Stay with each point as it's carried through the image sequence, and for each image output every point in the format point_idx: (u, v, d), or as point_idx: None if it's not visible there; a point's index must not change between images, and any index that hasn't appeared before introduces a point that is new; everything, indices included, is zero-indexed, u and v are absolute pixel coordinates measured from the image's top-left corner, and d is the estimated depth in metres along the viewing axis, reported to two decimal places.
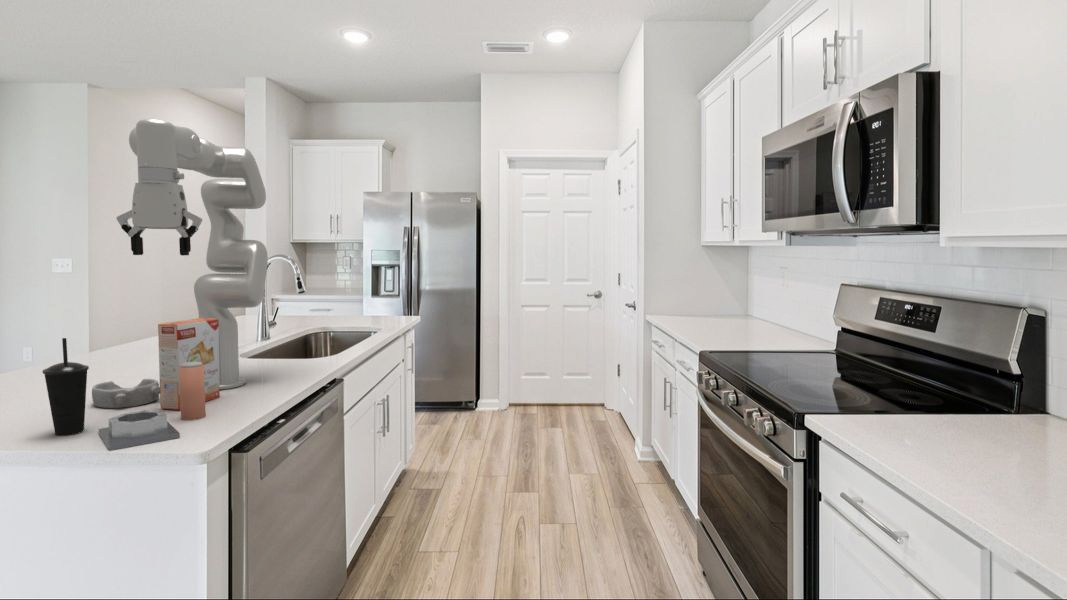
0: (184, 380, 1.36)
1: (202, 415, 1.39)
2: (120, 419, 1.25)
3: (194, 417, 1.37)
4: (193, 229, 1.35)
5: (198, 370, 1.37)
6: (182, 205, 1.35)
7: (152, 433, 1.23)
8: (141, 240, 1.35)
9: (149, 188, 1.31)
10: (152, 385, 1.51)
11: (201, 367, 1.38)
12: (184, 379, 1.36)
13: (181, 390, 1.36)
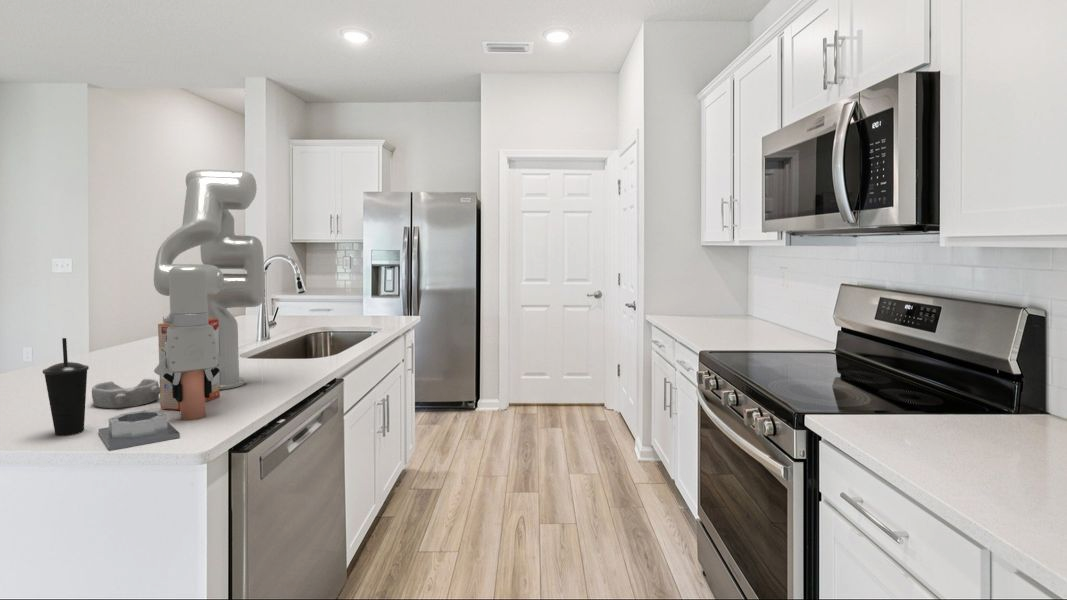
0: (184, 380, 1.36)
1: (202, 415, 1.39)
2: (120, 419, 1.25)
3: (194, 417, 1.37)
4: None
5: (198, 370, 1.37)
6: (165, 348, 1.35)
7: (152, 433, 1.23)
8: None
9: None
10: (152, 385, 1.51)
11: None
12: (184, 379, 1.36)
13: None
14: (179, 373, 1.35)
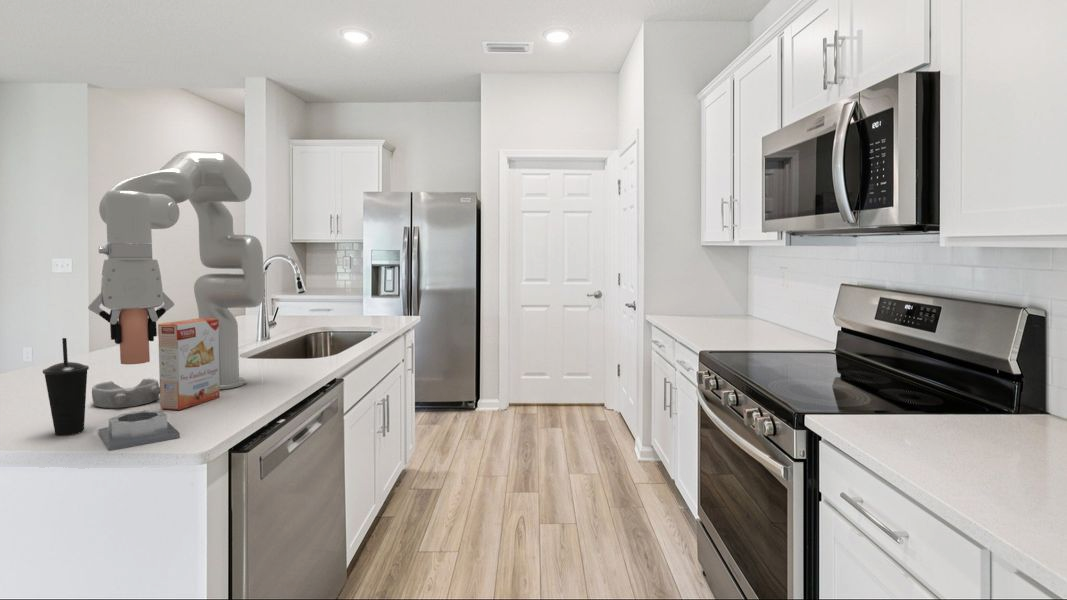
0: (123, 319, 1.21)
1: (145, 360, 1.23)
2: (120, 419, 1.25)
3: (135, 361, 1.22)
4: None
5: None
6: (101, 283, 1.19)
7: (152, 433, 1.23)
8: (148, 325, 1.24)
9: None
10: (152, 385, 1.51)
11: None
12: (123, 318, 1.21)
13: None
14: (117, 311, 1.20)
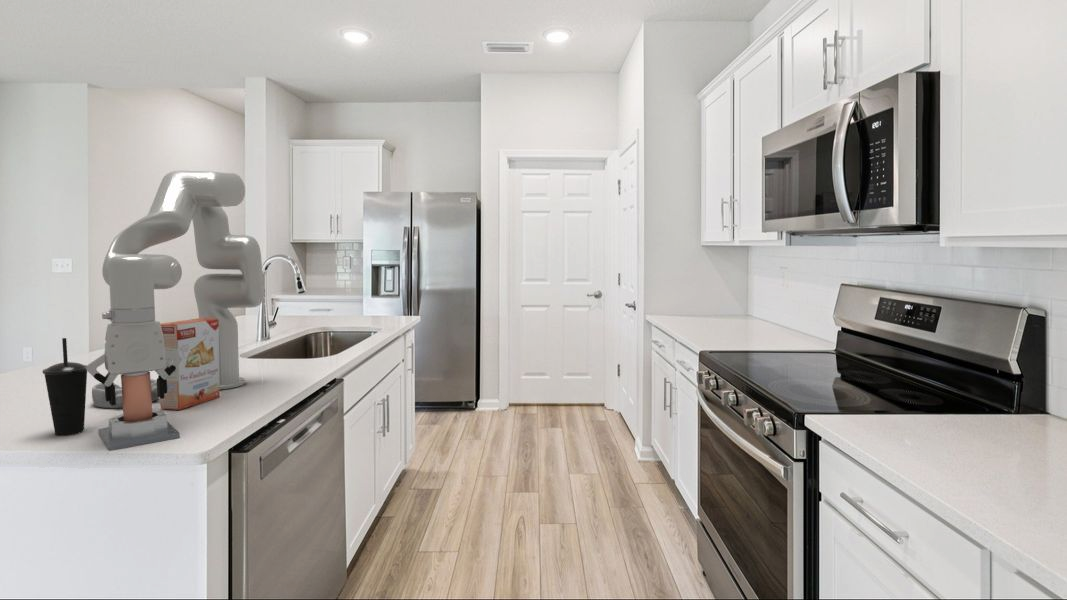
0: (127, 391, 1.22)
1: None
2: (120, 419, 1.25)
3: None
4: None
5: (142, 379, 1.23)
6: None
7: (152, 433, 1.23)
8: (159, 383, 1.26)
9: None
10: (152, 385, 1.51)
11: (146, 376, 1.23)
12: (126, 390, 1.22)
13: (124, 401, 1.22)
14: (115, 374, 1.21)
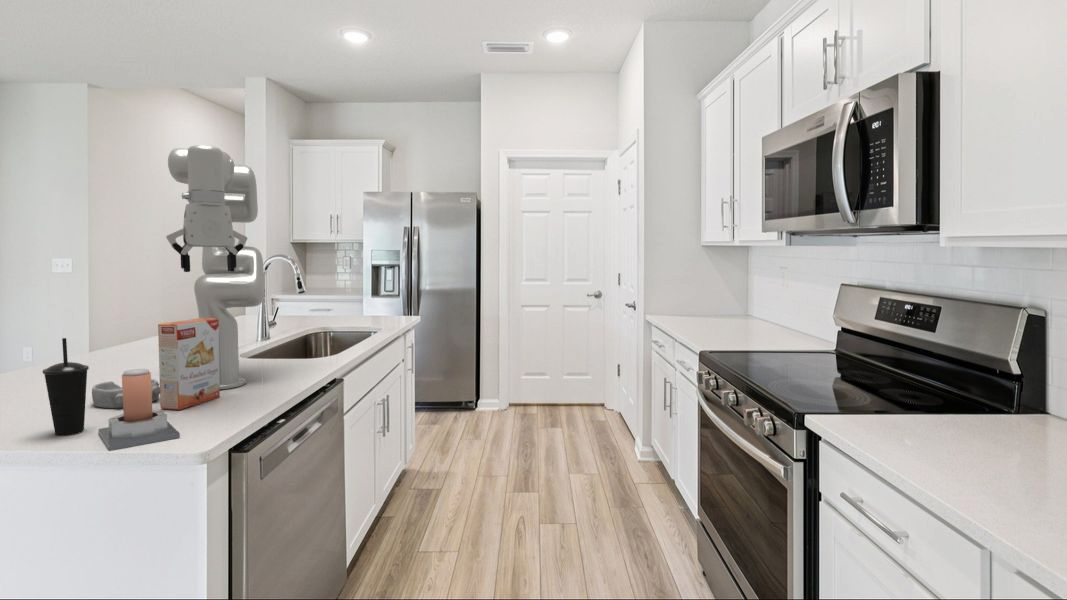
0: (127, 390, 1.22)
1: None
2: (120, 419, 1.25)
3: None
4: None
5: (143, 379, 1.23)
6: (183, 224, 1.41)
7: (152, 433, 1.23)
8: (230, 257, 1.47)
9: None
10: (152, 385, 1.51)
11: (147, 375, 1.24)
12: (127, 389, 1.22)
13: (124, 401, 1.22)
14: (191, 246, 1.41)
